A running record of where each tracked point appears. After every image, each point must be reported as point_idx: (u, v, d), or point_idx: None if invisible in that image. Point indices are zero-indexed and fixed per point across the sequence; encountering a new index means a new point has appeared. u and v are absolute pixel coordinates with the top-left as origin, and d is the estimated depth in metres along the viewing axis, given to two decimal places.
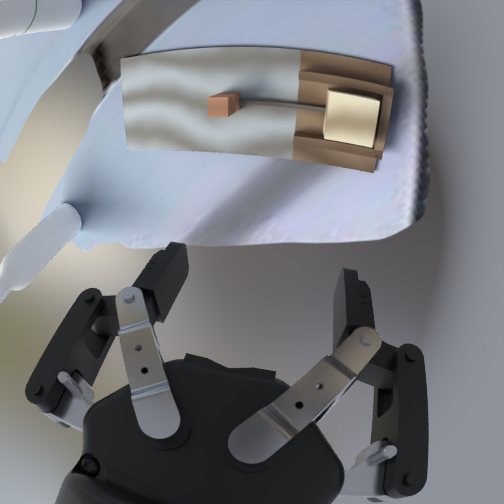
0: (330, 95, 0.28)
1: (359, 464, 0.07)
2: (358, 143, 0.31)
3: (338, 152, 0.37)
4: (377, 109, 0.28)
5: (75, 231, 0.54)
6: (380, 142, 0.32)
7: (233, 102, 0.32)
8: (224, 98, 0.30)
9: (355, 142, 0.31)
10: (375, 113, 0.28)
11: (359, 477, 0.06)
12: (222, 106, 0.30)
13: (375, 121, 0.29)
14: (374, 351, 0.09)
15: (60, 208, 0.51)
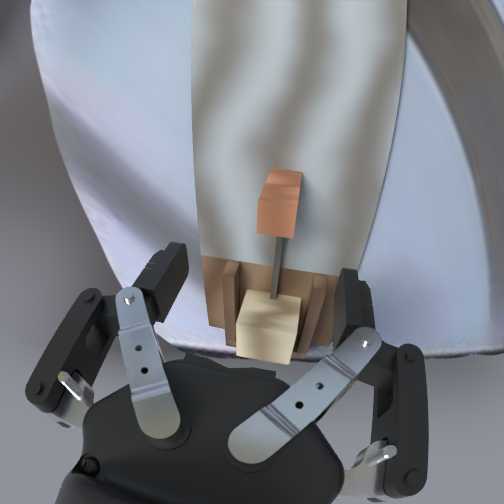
0: (291, 333, 0.27)
1: (359, 464, 0.07)
2: (238, 347, 0.30)
3: (222, 299, 0.33)
4: (279, 362, 0.30)
5: None
6: None
7: None
8: (291, 232, 0.19)
9: (238, 345, 0.30)
10: (274, 361, 0.30)
11: (359, 477, 0.06)
12: (276, 227, 0.19)
13: (266, 360, 0.31)
14: (374, 351, 0.09)
15: None
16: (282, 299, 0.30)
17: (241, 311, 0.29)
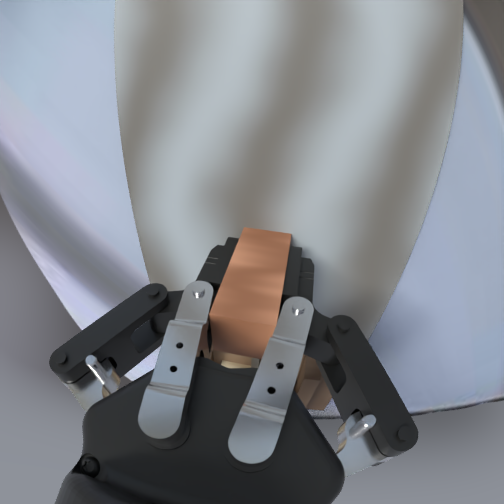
0: None
1: (346, 443, 0.07)
2: None
3: None
4: None
5: None
6: None
7: None
8: None
9: None
10: None
11: (353, 454, 0.07)
12: (243, 347, 0.11)
13: None
14: (303, 319, 0.10)
15: None
16: None
17: None
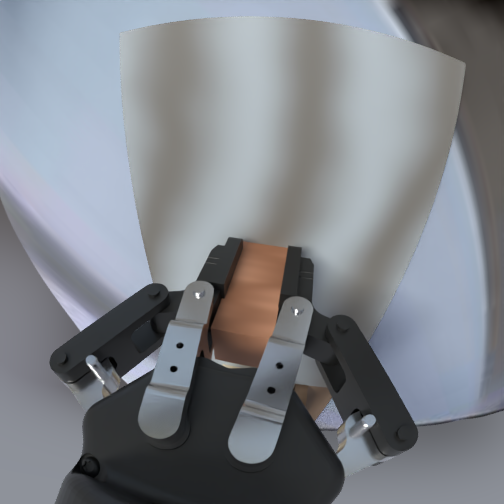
0: None
1: (345, 443, 0.07)
2: None
3: None
4: None
5: None
6: None
7: None
8: None
9: None
10: None
11: (353, 454, 0.07)
12: (243, 357, 0.12)
13: None
14: (303, 319, 0.10)
15: None
16: None
17: None
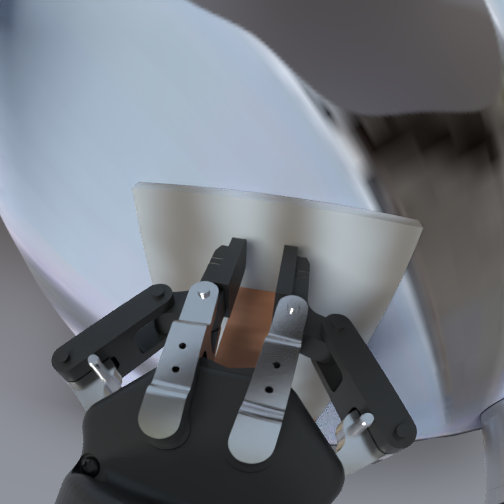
0: None
1: (344, 442, 0.07)
2: None
3: None
4: None
5: None
6: None
7: None
8: None
9: None
10: None
11: (352, 453, 0.07)
12: None
13: None
14: (298, 318, 0.10)
15: None
16: None
17: None
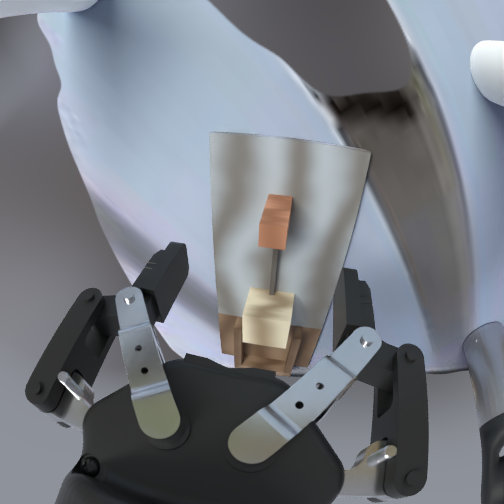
0: (286, 322, 0.34)
1: (359, 464, 0.07)
2: (243, 335, 0.37)
3: (232, 338, 0.47)
4: (277, 347, 0.38)
5: None
6: None
7: None
8: (284, 245, 0.26)
9: (244, 333, 0.37)
10: (274, 345, 0.38)
11: (359, 477, 0.06)
12: (273, 242, 0.26)
13: (266, 345, 0.38)
14: (374, 351, 0.09)
15: None
16: (279, 295, 0.38)
17: (246, 305, 0.36)
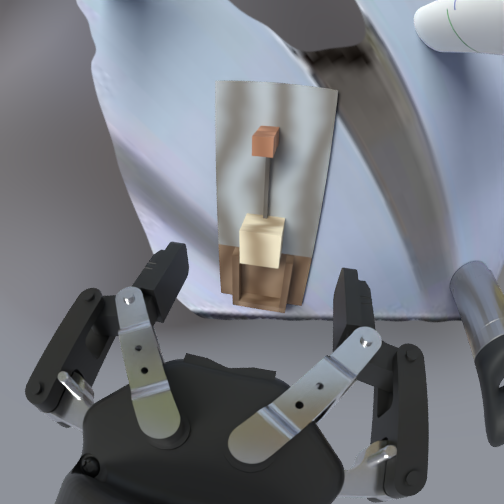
0: (278, 236, 0.40)
1: (359, 464, 0.07)
2: (240, 254, 0.43)
3: (231, 273, 0.53)
4: (271, 266, 0.44)
5: None
6: (244, 304, 0.54)
7: None
8: (271, 154, 0.32)
9: (241, 252, 0.43)
10: (267, 265, 0.44)
11: (359, 477, 0.06)
12: (263, 151, 0.32)
13: (261, 265, 0.44)
14: (374, 351, 0.09)
15: None
16: (271, 218, 0.43)
17: (243, 224, 0.42)
